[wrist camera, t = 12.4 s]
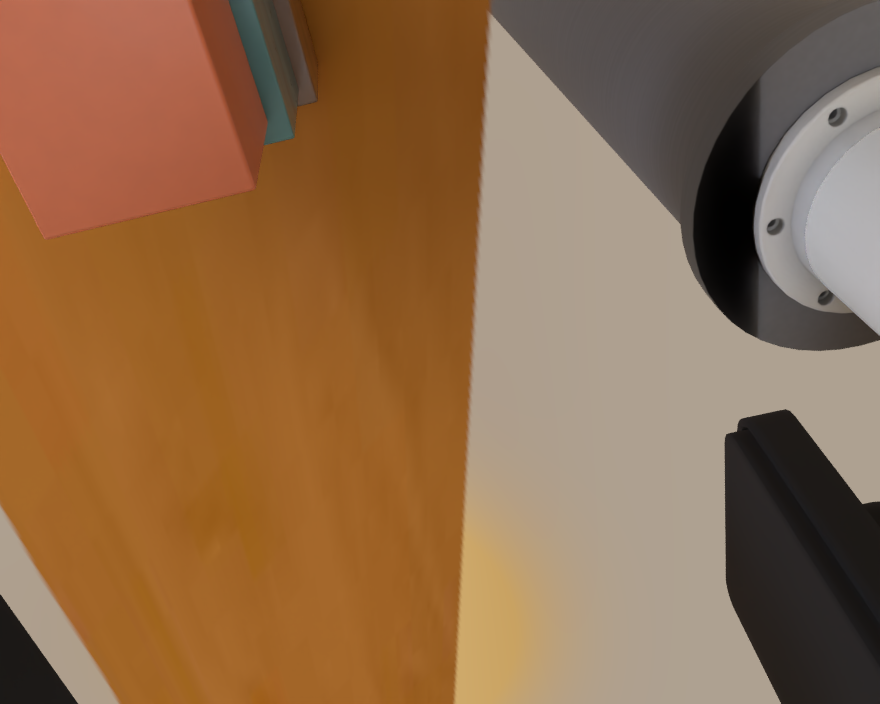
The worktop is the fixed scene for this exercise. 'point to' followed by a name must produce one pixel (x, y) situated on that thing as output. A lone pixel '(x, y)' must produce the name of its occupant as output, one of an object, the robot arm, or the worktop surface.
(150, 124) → the toy cube
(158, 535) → the worktop surface
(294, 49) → the block stack
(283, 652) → the worktop surface
